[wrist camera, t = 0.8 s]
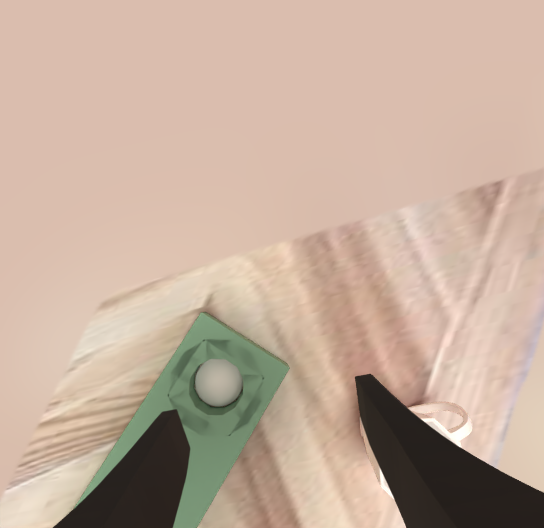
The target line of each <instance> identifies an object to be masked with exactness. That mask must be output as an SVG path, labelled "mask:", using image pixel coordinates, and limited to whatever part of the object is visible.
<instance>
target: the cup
mask: <svg viewBox="0 0 544 528" xmlns="http://www.w3.org/2000/svg"><path fill="white" fill-rule="evenodd" d="M408 409H409V410H411V411H412V412H413V413H414V414H415V415H417V416H418V417H419V418H420V419H422V420H423V421H424V422H425V423H427V424H428V425H429V426H431V427H432V428H433V429H435V430H436V431H437V432H439V433H440V434H441V435H443V436H444V437H446V438H447V439H449V440H450V441H452V442H453V443H455V444H456V445H457V446H459V447H461V443H460V442H459V441H460V440H462V439H463V438H465V437H466V436H468V435H469V433H470V432H471V431H472V421H471V419H470V417H469V415H468V414H467V413H466V412H465V411H464V409H463V408H461V407H460V406H458V405H456V404H454V403H449V402H433V403H427V404H421V405H416V406H411V407H408ZM438 411H450V412H455V413H457V414H459V415H460V416H462V417H463V422H462V424H461V425H459V426H457V427H454V428H452V429H449V430H446V429H445V428H444V427H443V426H442V425H441V424H440V423H439V422H438V421H437V420H436V419H434V418H432V417H430V416H427V415H424V413H430V412H438ZM359 419H360V433H361V436H362V437H363V438H364V443H365V448H366V452H367V455H368V457H369V459H370V462H371V464H372V466H373V469H374V471H375V474H376V476H377V479H378V481H379V483H380V486H381V487H382V488H383V489H384V490H385V491H386V492H387V493H388V494H389V495H390V496H391V497H392V498H393V499H394V497H393V495H392V493H391V491H390V489H389V486H388V484H387V482H386V480H385V478H384V476H383V473H382V471H381V469H380V467H379V465H378V462H377V460H376V458H375V456H374V454H373V451H372V449H371V447H370V445H369V442H368V439H367V436H366V433H365V430H364V427H363V424H362V421H361V418H360V417H359Z"/></svg>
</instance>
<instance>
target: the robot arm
mask: <svg viewBox="0 0 544 528" xmlns="http://www.w3.org/2000/svg"><path fill="white" fill-rule="evenodd" d="M355 381H356V388H357V396H358V403H359V411H360V418H361V421H362V424H363V427H364V430H365V433H366V436H367V439H368V442H369V445H370V447H371V449H372V451H373V454H374V456H375V458H376V460H377V462H378V465H379V467H380V469H381V471H382V473H383V476H384V478H385V480H386V482H387V484H388V486H389V489H390V491H391V493H392V495H393V497H394V500H395V502H396V504H397V506H398V508H399V511H400V513H401V516H402V518H403V520H404V523H405V525H406V528H544V493H543V492H541V491H539V490H536V489H535V488H533V487H531V486H529V485H527V484H525V483H523V482H521V481H519V480H517V479H515V478H513V477H511V476H509V475H507V474H505V473H503V472H501V471H500V470H498V469H496V468H494V467H493V466H491V465H489V464H487V463H486V462H484V461H482V460H480V459H479V458H477V457H475V456H473V455H472V454H470V453H468V452H467V451H465V450H464V449H462V448H461V447H459V446H457V445H456V444H455V443H453V442H452V441H450V440H449V439H447V438H446V437H444V436H443V435H441V434H440V433H439V432H437V431H436V430H435V429H433V428H432V427H431V426H429V425H428V424H427V423H425V422H424V421H423V420H422V419H420V418H419V417H418V416H417V415H415V414H414V413H413V412H412V411H411V410H409V409H408V408H407V407H406V406H405V405H404V404H402V403H401V402H400V401H399V400H398V399H397V398H396V397H394V396H393V395H392V394H391V393H390V392H389V391H388V390H387V389H386V388H385V387H384V386H383V385H382V384H381V383H380V382H379V381H378V380H377V379H376V378H375V377H374V376H373V375H371V374H367V375H361V376H356V377H355ZM190 449H191V448H190V445H189V442H188V439H187V437H186V434H185V431H184V428H183V425H182V422H181V419H180V417H179V414H178V411H177V409H174V410H168V411H163V412H161V413H160V415H159V416H158V417H157V418H156V419H155V420H154V421H153V423H152V424H151V425H150V426H149V427H148V429H147V430H146V431H145V432H144V433H143V435H142V436H141V437H140V438H139V439H138V441H137V442H136V443H135V444H134V445H133V447H132V448H131V449H130V450H129V451H128V452H127V454H126V455H125V456H124V457H123V458H122V459H121V460H120V462H119V463H118V464H117V465H116V466H115V467H114V468H113V469H112V470H111V471H110V472H109V474H108V475H107V476H106V477H105V478H104V479H103V480H102V481H101V482H100V483H99V484H98V486H97V487H96V488H95V489H94V490H93V491H92V492H91V493H90V494H89V495H88V496H87V497H86V498H85V499H84V500H83V501H82V502H80V503H79V504H78V505H77V506H76V507H75V508H74V509H73V510H72V511H71V512H70V513H69V514H68V515H67V516H66V517H65V518H63V519H62V520H61V521H60V522H59V523H58V524H57V525H55V526H54V527H53V528H173V526H174V522H175V518H176V515H177V511H178V507H179V503H180V500H181V496H182V492H183V488H184V484H185V480H186V476H187V470H188V464H189V456H190Z"/></svg>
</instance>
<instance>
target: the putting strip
mask: <svg viewBox="0 0 544 528" xmlns="http://www.w3.org/2000/svg"><path fill="white" fill-rule="evenodd" d="M201 364H202V365H201ZM200 365H201V367H200V368H199V366H200ZM198 368H199V370H198ZM197 370H198V372H197V374H196V379H195V373H196V371H197ZM288 370H289V366H288V364H287V363H285V362H284V361H282V360H281V359H279V358H278V357H276V356H274V355H273V354H271V353H270V352H268V351H266V350H265V349H263V348H262V347H260V346H259V345H257V344H255V343H254V342H252V341H251V340H249V339H247V338H246V337H244V336H243V335H241V334H240V333H238V332H236V331H235V330H233V329H232V328H230V327H228V326H227V325H225V324H224V323H222V322H221V321H219V320H217V319H216V318H214V317H213V316H211V315H210V314H208V313H206V312H201V314H200V315H199V317H198V318H197V320H196V321H195V323H194V324H193V326H192V327H191V329H190V330H189V332H188V334H187V335H186V337H185V338H184V340H183V341H182V343H181V344H180V346H179V347H178V349H177V350H176V352H175V354H174V355H173V357H172V358H171V360H170V361H169V363H168V364H167V366H166V367H165V369H164V370H163V372H162V374H161V375H160V377H159V378H158V380H157V381H156V383H155V384H154V386H153V387H152V389H151V390H150V392H149V394H148V395H147V397H146V398H145V400H144V401H143V403H142V404H141V406H140V407H139V409H138V410H137V412H136V414H135V415H134V417H133V418H132V420H131V421H130V423H129V424H128V426H127V427H126V429H125V431H124V432H123V434H122V435H121V437H120V438H119V440H118V441H117V443H116V444H115V446H114V447H113V449H112V451H111V452H110V454H109V455H108V457H107V458H106V460H105V461H104V463H103V464H102V466H101V467H100V469H99V471H98V472H97V474H96V475H95V477H94V478H93V480H92V481H91V483H90V484H89V486H88V487H87V489H86V491H85V492H84V494H83V495H82V497H81V498H80V500H79V501H78V503H77V504H76V506H77V505H78V504H79V503H80V502H82V501H83V500H84V499H85V498H86V497H87V496H88V495H89V494H90V493H91V492H92V491H93V490H94V489H95V488H96V487H97V486H98V484H99V483H100V482H101V481H102V480H103V479H104V478H105V477H106V476H107V475H108V474H109V472H110V471H111V470H112V469H113V468H114V467H115V466H116V465H117V464H118V463H119V462H120V460H121V459H122V458H123V457H124V456H125V455H126V454H127V452H128V451H129V450H130V449H131V448H132V447H133V445H134V444H135V443H136V442H137V441H138V439H139V438H140V437H141V436H142V435H143V433H144V432H145V431H146V430H147V429H148V427H149V426H150V425H151V424H152V423H153V421H154V420H155V419H156V418H157V417H158V416H159V415H160V413H161V412H163V411H168V410H174V409H177V411H178V414H179V417H180V419H181V422H182V425H183V428H184V431H185V434H186V437H187V439H188V442H189V445H190V448H191V449H190V456H189V464H188V470H187V476H186V480H185V484H184V488H183V492H182V496H181V500H180V503H179V507H178V511H177V515H176V518H175V522H174V526H173V528H197V527H198V525H199V523H200V521H201V520H202V518H203V516H204V515H205V513H206V511H207V509H208V508H209V506H210V504H211V503H212V501H213V499H214V497H215V496H216V494H217V492H218V491H219V489H220V487H221V485H222V484H223V482H224V480H225V478H226V477H227V475H228V473H229V472H230V470H231V468H232V466H233V465H234V463H235V461H236V460H237V458H238V456H239V454H240V453H241V451H242V449H243V447H244V446H245V444H246V442H247V441H248V439H249V437H250V435H251V434H252V432H253V430H254V429H255V427H256V425H257V423H258V422H259V420H260V418H261V417H262V415H263V413H264V411H265V410H266V408H267V406H268V404H269V403H270V401H271V399H272V398H273V396H274V394H275V392H276V391H277V389H278V387H279V386H280V384H281V382H282V380H283V379H284V377H285V375H286V373H287V372H288ZM194 383H195V386H196V390H195V388H194ZM242 387H243V391H242V393H241V394H240V392H241V390H242ZM196 391H197V392H196ZM197 393H198V394H197ZM239 394H240V396H239ZM198 395H199V396H198ZM238 396H239V398H238V399H237V400H236V401H235V402H233V401H234V400H235V399H236V398H237V397H238ZM199 397H200V398H201V399H202V400H203V401H204V402H203V401H202V400H200V398H199ZM232 402H233V403H232ZM206 403H207V404H206ZM230 403H231V404H230ZM208 404H209V405H212V406H217V407H211V406H209V405H208ZM228 404H229V405H228ZM225 405H228V406H226V407H219V406H225ZM76 506H75V507H76ZM75 507H74V508H75Z"/></svg>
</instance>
